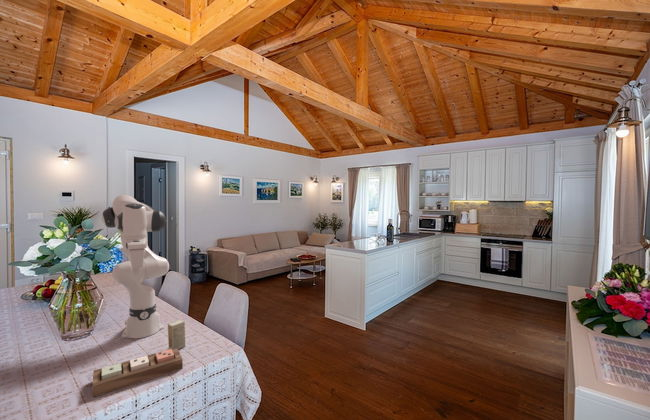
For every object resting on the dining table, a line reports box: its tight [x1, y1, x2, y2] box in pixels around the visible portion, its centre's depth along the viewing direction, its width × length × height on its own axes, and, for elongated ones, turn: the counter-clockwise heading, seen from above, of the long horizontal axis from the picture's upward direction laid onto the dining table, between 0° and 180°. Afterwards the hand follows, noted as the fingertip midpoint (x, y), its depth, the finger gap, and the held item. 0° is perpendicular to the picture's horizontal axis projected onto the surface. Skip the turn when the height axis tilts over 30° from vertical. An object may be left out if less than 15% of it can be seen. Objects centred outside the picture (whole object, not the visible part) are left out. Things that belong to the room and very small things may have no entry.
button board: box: [92, 347, 184, 398], centre depth 116 cm, size 12×29×4 cm, turn 127°
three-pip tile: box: [155, 348, 174, 364], centre depth 121 cm, size 6×6×5 cm
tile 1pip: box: [101, 362, 122, 380], centre depth 110 cm, size 6×6×5 cm
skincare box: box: [167, 319, 186, 350], centre depth 136 cm, size 6×4×12 cm
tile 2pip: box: [130, 355, 149, 372], centre depth 116 cm, size 6×6×5 cm
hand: (135, 274), depth 122 cm, fingers closed
